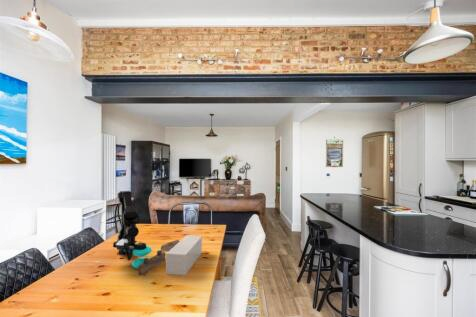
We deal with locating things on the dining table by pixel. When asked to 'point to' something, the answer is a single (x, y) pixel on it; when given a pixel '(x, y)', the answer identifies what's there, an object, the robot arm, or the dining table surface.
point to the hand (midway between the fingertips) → (129, 260)
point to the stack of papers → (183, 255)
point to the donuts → (140, 253)
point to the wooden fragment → (169, 246)
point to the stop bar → (151, 263)
